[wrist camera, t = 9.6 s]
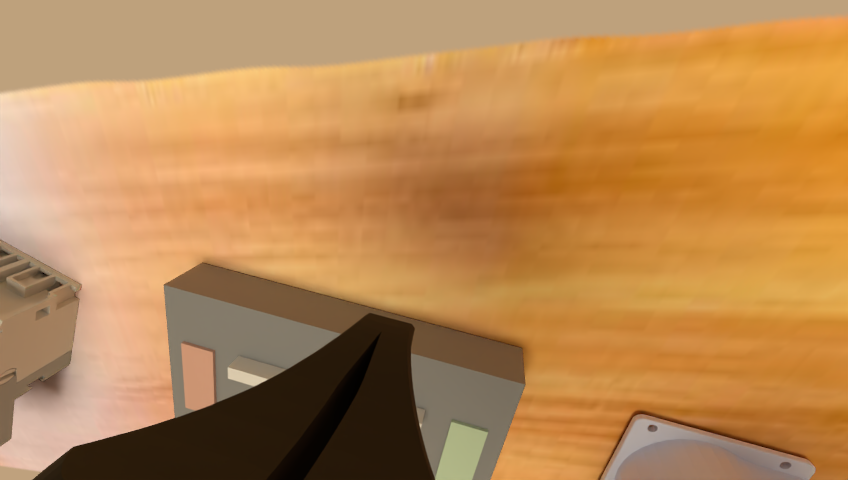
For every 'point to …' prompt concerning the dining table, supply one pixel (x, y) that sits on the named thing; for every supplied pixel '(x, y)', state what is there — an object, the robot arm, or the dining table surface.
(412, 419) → the robot arm
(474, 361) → the slider control box
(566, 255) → the dining table surface
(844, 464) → the dining table surface
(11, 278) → the circuit breaker
